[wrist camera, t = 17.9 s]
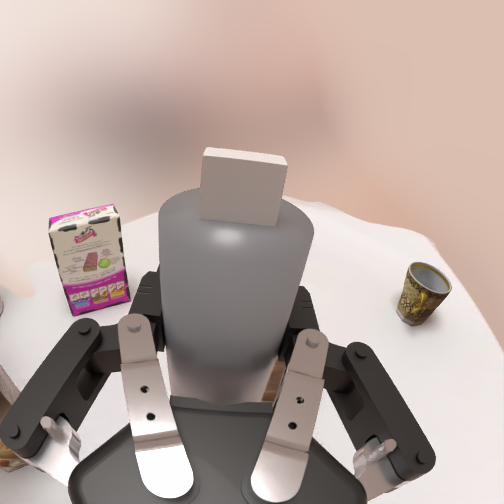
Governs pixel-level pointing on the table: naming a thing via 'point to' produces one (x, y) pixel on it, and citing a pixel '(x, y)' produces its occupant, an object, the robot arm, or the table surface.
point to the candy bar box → (90, 258)
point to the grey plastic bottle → (229, 276)
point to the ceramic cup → (422, 293)
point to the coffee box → (3, 396)
